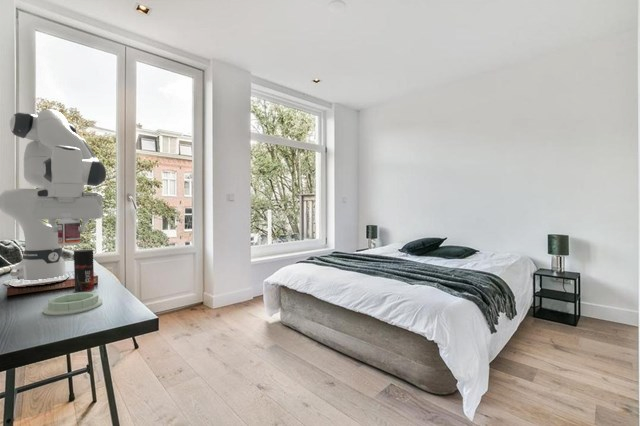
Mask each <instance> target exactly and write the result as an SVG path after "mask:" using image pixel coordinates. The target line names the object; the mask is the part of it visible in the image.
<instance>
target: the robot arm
mask: <svg viewBox="0 0 640 426" xmlns="http://www.w3.org/2000/svg"><path fill="white" fill-rule="evenodd" d="M9 127H10V130H11V133H12V134H13V136H16V137H18V138H21V139H27V140H31V141H30V142H28V143H27V144H26V146H25V150H24V152H23V153H24V154H23V178H24V179H25V181H26V182H27V183H29V184H30V185H31V186H34V187H35V188H12V189H6V190H4V191H2V192H1V193H0V210H1V212H2V213H4V214H6V215H7V216H9V217H11V218H12V219H13V220H15V221H16V222H17V223H18V224H19V225H20V227H21V229H22V232H23V234H24V243H25V244H24V245H25V249H24V250H23V251H21V253H22V260H21V261H20V262H19V263H17V264H16V265H15V266H14V267H13V268H12V269H11V270H10V276H11V279H18V280H20V279H24V280H38V279H47V278H54V277H59V276H63V275H65V274H67V265H66V261H65V259H64V258H63V257H62V256H63V247H62V246H61V245H59V244H58V224H57V223H58V220H60V219H62V217H61V213H71V217H70V218H71V219H78V220H81V223H82V224H81V225H80V227H78V229H79V230H78V232H80V233H84V232H86V227H87V225H88V224H89V222H90V219H91V220H96V219H97V220H99V219H102V218H103V217H104V210H103V196H102V195H101V194H100V193H98V192H85V186H92V187H97V186H99V185H102V183H104V182H105V181H106V178H107V170H106V167H105V165H104V164H103V162H101V161H100V160H99V158H98V157H97V155H96V154H95V152H94V151H93V150H92V148H91V147H90V145H89V144H88V142H87V141H86V139H84V138H83V137H81V136H79V135H78V134H77V128H76V127H75V126H74V125H73V124H71V123H69V122H68V120H67V118H66V117H65V116H64V115H63V114H62V113H61V112H59V111H58V110H54V109H51V108H48V109H43V110H41V111H39V112H38V114H32V113H30V112H29V113H28V112H15V113H14V114H13V116H12V117H11V119H10V120H9ZM43 220H48V223H47V222H45V221H43ZM11 279H8V280H4V281H3V285H6V286H9V285H8V284H9V281H10V280H11Z"/></svg>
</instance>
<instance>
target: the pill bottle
mask: <svg viewBox="0 0 640 426" xmlns="http://www.w3.org/2000/svg"><path fill="white" fill-rule="evenodd" d="M61 217H62V219H58V220H57V227H58V244H59V245H61V247H62V246H76V245H80V244H81V241H82V240H81V232H78V230H79V229H78V227H81V221H80V219H71V218H70V217H71V213H61Z"/></svg>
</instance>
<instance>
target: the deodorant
mask: <svg viewBox="0 0 640 426" xmlns="http://www.w3.org/2000/svg"><path fill="white" fill-rule="evenodd" d="M73 269H74V272H73V273H74V292H77V293H81V292H89V291H91V290H94V289H95V278H94V277H95V275H94V271H95V270H94V250H93V249H91V248H90V249H89V248H88V249H78V250H73Z"/></svg>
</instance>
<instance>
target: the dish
mask: <svg viewBox="0 0 640 426" xmlns="http://www.w3.org/2000/svg"><path fill="white" fill-rule="evenodd" d="M47 301H48V302H47V305H46V306H44V308H42V314H44V315H47V316H65V315H72V314H77V313H79V314H80V313H83V312H87V311H90V310H94V309H97V308H98V307H101V306H102V305H103V299H102V298H100V297H99V295H98V293H97V292H91V291H80V292H73V293H68V294H63V295H62V294H61V295H59V296H54V297H52V298H50V299H48V300H47Z"/></svg>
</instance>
